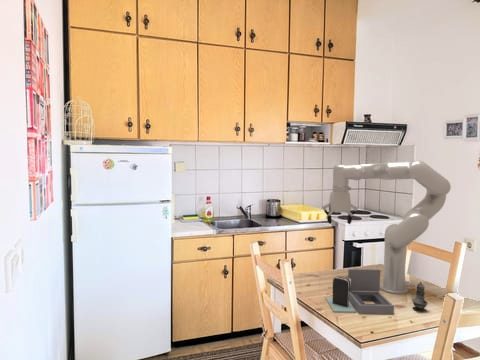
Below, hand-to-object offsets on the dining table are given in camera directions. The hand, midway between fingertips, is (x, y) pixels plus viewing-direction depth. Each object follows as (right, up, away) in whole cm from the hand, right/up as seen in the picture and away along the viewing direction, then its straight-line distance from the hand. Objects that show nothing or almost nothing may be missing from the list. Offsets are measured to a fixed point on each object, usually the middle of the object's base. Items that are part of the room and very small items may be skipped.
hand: (339, 223), depth 177 cm
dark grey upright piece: (+25, -33, -29) cm, 51 cm away
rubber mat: (-7, -32, -26) cm, 42 cm away
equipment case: (+5, -32, -26) cm, 42 cm away
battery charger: (-7, -31, -26) cm, 41 cm away
